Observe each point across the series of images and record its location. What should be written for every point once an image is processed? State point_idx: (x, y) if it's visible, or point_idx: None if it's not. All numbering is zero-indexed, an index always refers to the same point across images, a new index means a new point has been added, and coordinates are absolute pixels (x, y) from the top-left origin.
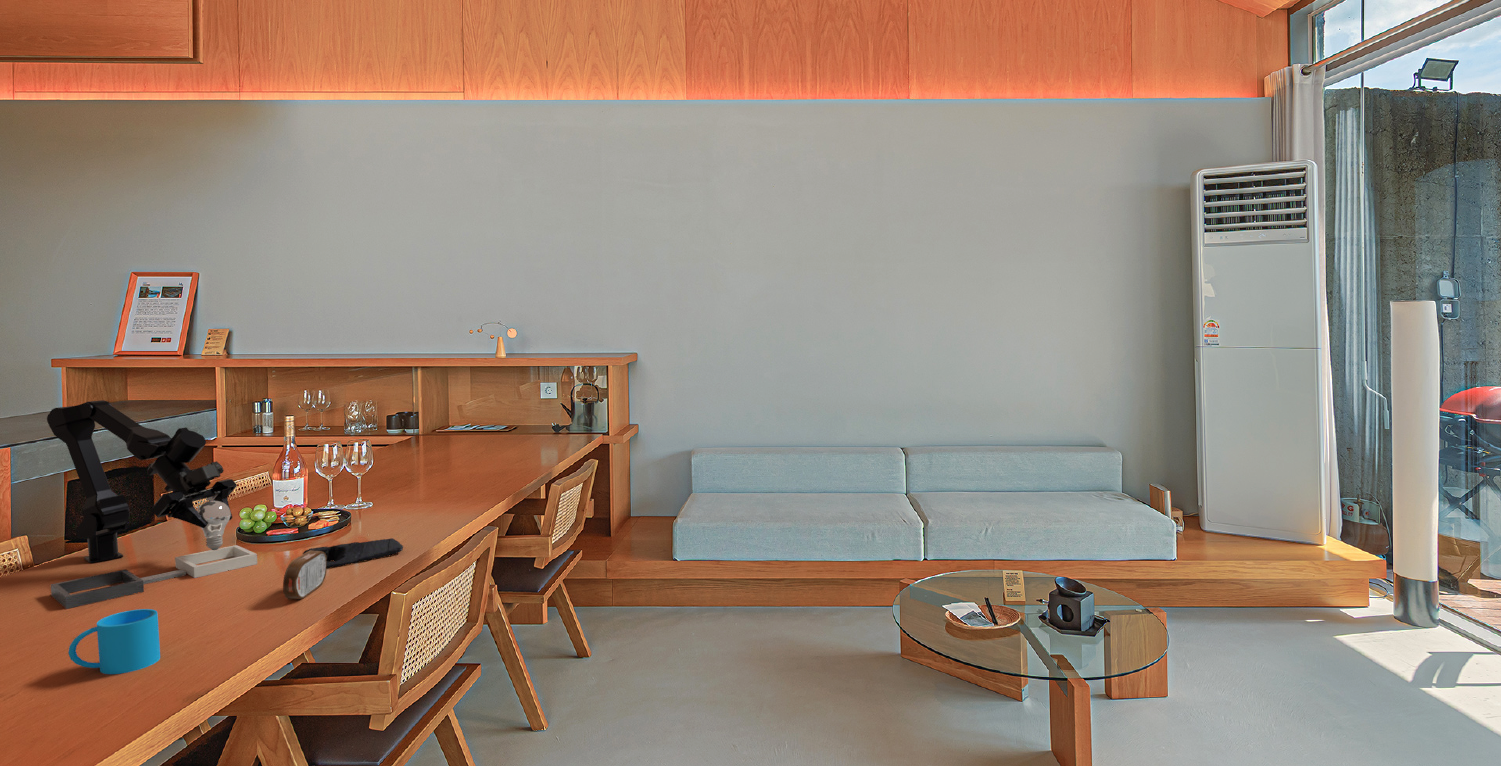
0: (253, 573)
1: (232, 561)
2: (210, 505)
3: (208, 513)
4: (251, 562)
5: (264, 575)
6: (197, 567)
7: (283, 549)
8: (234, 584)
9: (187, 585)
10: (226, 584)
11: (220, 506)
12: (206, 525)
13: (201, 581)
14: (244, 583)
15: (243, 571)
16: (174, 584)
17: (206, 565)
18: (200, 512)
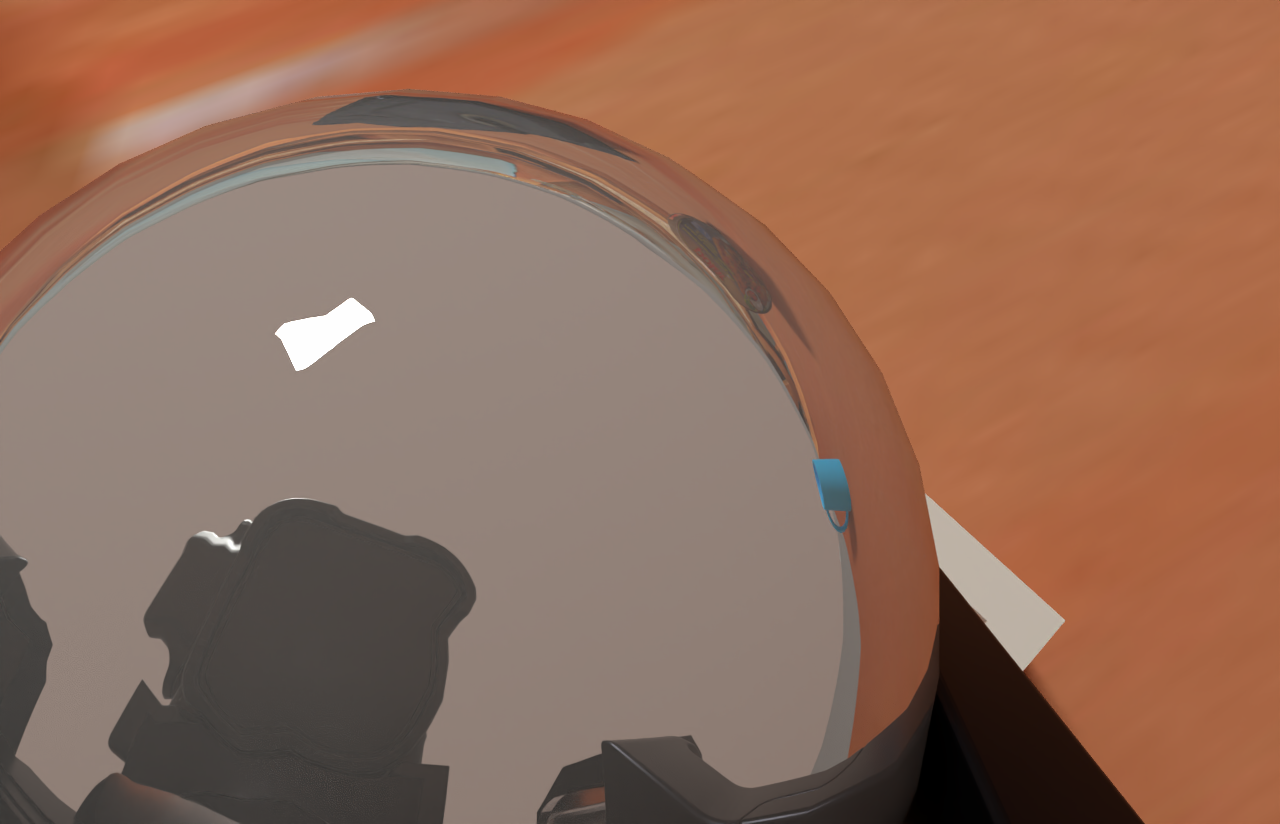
0: (882, 122)
1: None
2: (777, 409)
3: (916, 466)
4: None
5: (949, 5)
6: (1028, 595)
7: (31, 209)
8: (1203, 131)
9: (1249, 555)
10: (1206, 199)
11: (595, 134)
12: None
13: (1120, 484)
14: (1174, 64)
15: (809, 241)
16: (1223, 722)
17: (953, 526)
18: (915, 787)
